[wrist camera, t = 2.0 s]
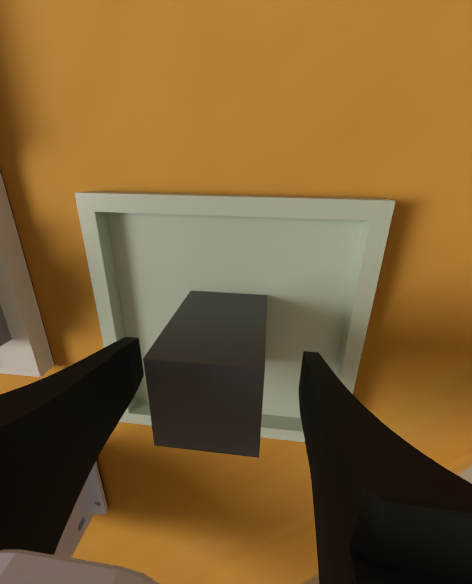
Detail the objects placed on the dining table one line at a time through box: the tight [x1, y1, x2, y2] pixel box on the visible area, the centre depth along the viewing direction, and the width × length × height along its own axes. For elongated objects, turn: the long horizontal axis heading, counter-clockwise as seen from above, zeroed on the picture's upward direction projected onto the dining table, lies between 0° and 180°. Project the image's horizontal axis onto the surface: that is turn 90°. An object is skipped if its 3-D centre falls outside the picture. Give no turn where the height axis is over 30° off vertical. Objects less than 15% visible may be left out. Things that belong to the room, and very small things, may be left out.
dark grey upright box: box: [143, 291, 267, 458], centre depth 13 cm, size 4×4×6 cm
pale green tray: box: [75, 191, 395, 442], centre depth 15 cm, size 14×14×1 cm
